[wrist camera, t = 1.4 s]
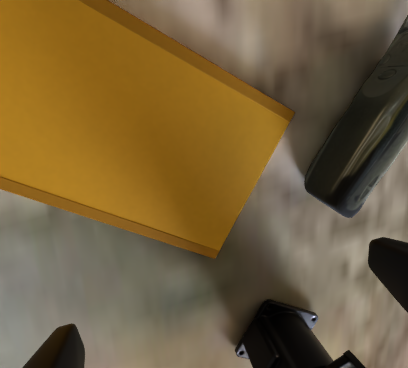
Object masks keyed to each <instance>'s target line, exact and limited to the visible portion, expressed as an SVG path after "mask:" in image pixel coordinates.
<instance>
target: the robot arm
mask: <svg viewBox="0 0 408 368" xmlns="http://www.w3.org/2000/svg"><path fill="white" fill-rule="evenodd" d="M368 264H369V267H370V269H371V270H372V271H373V273H374V274H375V275H376V276H377V277H378V279H379V280H380V281H381V282H382V283H383V284H384V286H385V287H386V288H387V289H388V290H389V292H390V293H391V294H392V295H393V296H394V298H395V299H396V300H397V301H398V302H399V303H400V305H401V306H402V307H403V308H404V309H405V310H406V311H407V312H408V243H407V242H403V241H398V240H394V239H390V238H385V237H382V238H378V239H374V240H372V241H371V242H370V244H369V256H368ZM268 305H269V306H268ZM317 320H318V316H317V315H316V313H314V312H311V311H308V310H304V309H301V308H297V307H294V306H290V305H287V304H284V303H280V302H277V301H273V300H269V299H268V300H266V301H264V303H263V304H262V306H261V308H260V309H259V311H258V312H257V314H256V316H255V317H254V319H253V321H252V322H251V324H250V326H249V327H248V329H247V331H246V332H245V334H244V336H243V337H242V339H241V341H240V342H239V344H238V345H237V347H236V349H235V352H236V355H237V356H238V357H243V358H248V359H250V362H251V364H252V367H253V368H365V367H364V365H363V364H362V363H361V362H360V361H359V360H358V359H357V358H356V357H355V356H354V355H353V354H352V353H351V352H350V350H348V351H346V352H345V353H343V354H344V355H343V356H341V357H339V358H338V359H336V360H335V361H333V360H332V358H331V357H330V356H329V354H328V353H327V352H326V350H325V349H324V347H323V346H322V345H321V343H320V342H319V341H318V339H317V338H316V336H315V335H314V334H313V332H312V331H311V329H312V328H313V326H314V325H315V323H316V322H317ZM84 362H85V349H84V345H83V342H82V340H81V337H80V335H79V332H78V330H77V327H76V326H75V324H68V325H64V326H61V327H58V328H57V329H56V330H55V331H54V332H53V333H52V334H51V335H50V336H49V338H48V339H47V340H46V341H45V342H44V343H43V345H42V346H41V347H40V348H39V349H38V350H37V351H36V353H35V354H34V355H33V356H32V357H31V358H30V360H29V361H28V362H27V363H26V364H25V365H24V366H23V368H84Z"/></svg>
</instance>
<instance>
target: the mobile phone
mask: <svg viewBox="0 0 408 368" xmlns="http://www.w3.org/2000/svg"><path fill="white" fill-rule="evenodd" d="M407 142H408V16H407V17H406V19H405V21H404V23H403V24H402V26H401V28H400V30H399V32H398V33H397V35H396V37H395V38H394V40H393V42H392V44H391V45H390V47H389V49H388V50H387V52H386V54H385V55H384V57H383V58H382V59H381V60H380V62H379V64H378V65H377V67H376V68H375V70H374V72H373V73H372V75H371V76H370V77H369V78H368V79H367V80H366V81H365V83H364V84H363V86H362V87H361V89H360V90H359V92H358V94H357V95H356V97H355V99H354V100H353V102H352V104H351V105H350V107H349V108H348V110H347V111H346V113H345V114H344V116H343V117H342V118H341V120H340V121H339V122H338V124H337V125H336V127H335V128H334V130H333V131H332V133H331V134H330V136H329V138H328V139H327V141H326V142H325V144H324V146H323V147H322V149H321V150H320V152H319V153H318V155H317V156H316V158H315V159H314V161H313V163H312V164H311V166H310V168H309V170H308V172H307V174H306V176H305V189H306V190H307V192H308V193H310V194H311V195H312V196H314V197H315V198H316V199H318V200H319V201H321V202H323V203H324V204H326V205H327V206H329V207H330V208H332V209H333V210H335V211H336V212H338V213H339V214H341V215H343V216H345V217H348V218H350V217H351V218H352V217H353V216H354V215H355V214H356V213H358V211H359V210H360V209H361V207H362V205H363V204H364V202H365V201H366V199H367V198H368V196H369V195H370V193H371V192H372V190H373V189H374V188H375V186H376V185H377V183H378V182H379V180H380V179H381V178H382V176H383V175H384V174H385V173H386V172H387V171H388V169H389V168H390V166H391V165H392V164H393V162H394V161H395V159H396V158H397V156H398V155H399V153H400V152H401V150H402V149H403V148H404V146H405V145H406V143H407Z"/></svg>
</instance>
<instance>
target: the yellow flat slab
mask: <svg viewBox="0 0 408 368" xmlns="http://www.w3.org/2000/svg"><path fill="white" fill-rule="evenodd" d="M294 114H295V112H294V111H292V110H290V109H289V108H287V107H285V106H284V105H282V104H280V103H279V102H277V101H275V100H274V99H272V98H270V97H269V96H267V95H265V94H264V93H262V92H260V91H259V90H257V89H255V88H253V87H252V86H250V85H248V84H247V83H245V82H243V81H242V80H240V79H238V78H237V77H235V76H233V75H232V74H230V73H228V72H227V71H225V70H223V69H222V68H220V67H218V66H217V65H215V64H213V63H212V62H210V61H208V60H207V59H205V58H203V57H202V56H200V55H198V54H197V53H195V52H193V51H192V50H190V49H188V48H187V47H185V46H183V45H182V44H180V43H178V42H177V41H175V40H173V39H172V38H170V37H168V36H167V35H165V34H163V33H162V32H160V31H158V30H156V29H155V28H153V27H151V26H150V25H148V24H146V23H145V22H143V21H141V20H140V19H138V18H136V17H135V16H133V15H131V14H130V13H128V12H126V11H125V10H123V9H121V8H120V7H118V6H116V5H115V4H113V3H111V2H110V1H108V0H0V189H2V190H5V191H8V192H11V193H15V194H18V195H21V196H24V197H27V198H30V199H33V200H36V201H39V202H42V203H45V204H48V205H51V206H54V207H57V208H60V209H64V210H67V211H70V212H73V213H76V214H79V215H82V216H85V217H88V218H91V219H94V220H97V221H100V222H103V223H106V224H110V225H113V226H116V227H119V228H122V229H125V230H128V231H131V232H134V233H137V234H140V235H143V236H146V237H149V238H152V239H156V240H159V241H162V242H165V243H168V244H171V245H174V246H177V247H180V248H183V249H186V250H189V251H192V252H195V253H198V254H201V255H205V256H208V257H211V258H214V259H215V258H216V256H217V255H218V253H219V250H220V249H221V247H222V245H223V243H224V241H225V239H226V238H227V236H228V234H229V232H230V230H231V228H232V227H233V225H234V223H235V221H236V219H237V217H238V216H239V214H240V212H241V210H242V208H243V207H244V205H245V203H246V201H247V199H248V197H249V196H250V194H251V192H252V190H253V188H254V186H255V185H256V183H257V181H258V179H259V177H260V175H261V174H262V172H263V170H264V168H265V166H266V164H267V163H268V161H269V159H270V157H271V155H272V153H273V152H274V150H275V148H276V146H277V144H278V142H279V141H280V139H281V137H282V135H283V133H284V131H285V130H286V128H287V126H288V124H289V122H290V121H291V119H292V117H293V115H294Z"/></svg>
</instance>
